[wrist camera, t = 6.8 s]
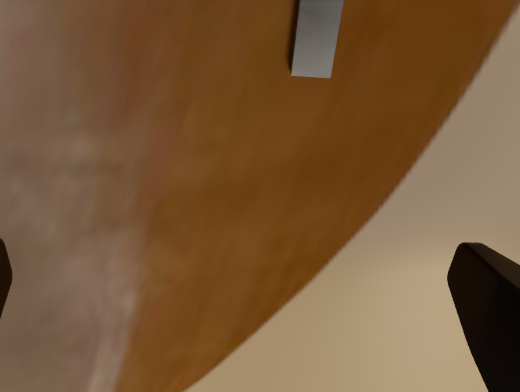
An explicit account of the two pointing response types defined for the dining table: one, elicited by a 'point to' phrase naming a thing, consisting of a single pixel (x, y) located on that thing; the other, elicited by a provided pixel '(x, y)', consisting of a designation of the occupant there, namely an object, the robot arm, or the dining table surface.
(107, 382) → the dining table surface
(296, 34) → the rail
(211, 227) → the dining table surface
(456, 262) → the robot arm
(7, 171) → the dining table surface
